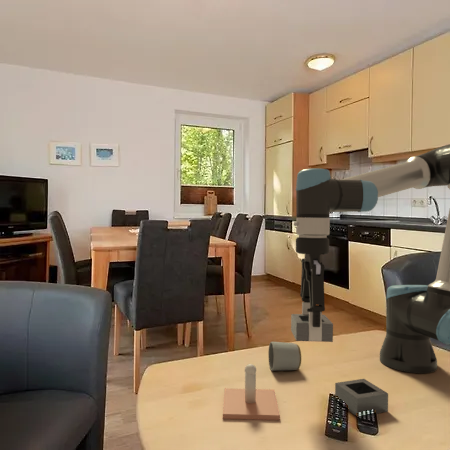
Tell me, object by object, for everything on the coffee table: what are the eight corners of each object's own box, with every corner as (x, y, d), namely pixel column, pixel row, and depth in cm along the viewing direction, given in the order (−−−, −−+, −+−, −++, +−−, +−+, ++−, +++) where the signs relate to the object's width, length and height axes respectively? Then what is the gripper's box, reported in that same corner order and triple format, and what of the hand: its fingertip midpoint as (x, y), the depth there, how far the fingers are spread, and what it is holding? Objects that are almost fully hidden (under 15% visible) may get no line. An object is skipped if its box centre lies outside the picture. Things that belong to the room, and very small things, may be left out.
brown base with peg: (274, 393, 90) (274, 355, 90) (279, 420, 78) (280, 375, 78) (224, 392, 91) (224, 354, 91) (222, 418, 79) (222, 374, 79)
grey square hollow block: (363, 395, 90) (364, 378, 90) (387, 411, 82) (388, 393, 82) (335, 400, 87) (335, 382, 87) (357, 417, 80) (357, 398, 80)
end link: (324, 331, 90) (324, 314, 90) (332, 341, 82) (333, 323, 82) (291, 330, 91) (291, 314, 91) (296, 340, 83) (296, 322, 83)
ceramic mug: (302, 374, 102) (302, 345, 102) (273, 375, 101) (273, 346, 101) (292, 360, 112) (292, 334, 113) (265, 361, 112) (265, 335, 112)
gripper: (289, 234, 97) (288, 322, 97) (304, 238, 76) (302, 349, 76) (318, 235, 97) (317, 322, 97) (341, 238, 76) (339, 350, 76)
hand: (311, 334), depth 87 cm, fingers closed on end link, 8 cm apart
